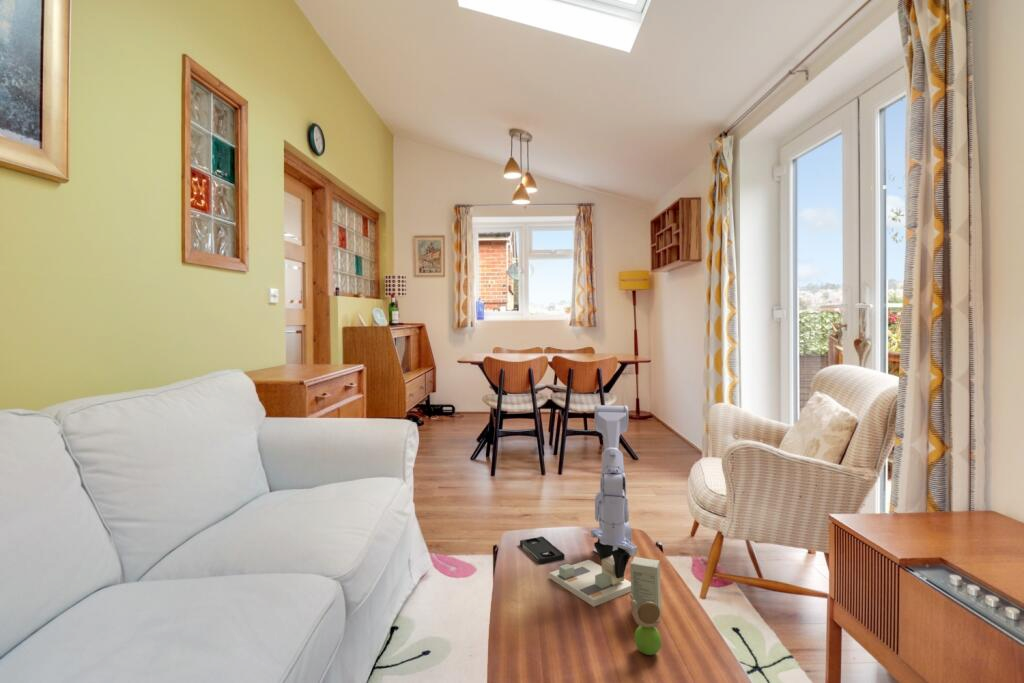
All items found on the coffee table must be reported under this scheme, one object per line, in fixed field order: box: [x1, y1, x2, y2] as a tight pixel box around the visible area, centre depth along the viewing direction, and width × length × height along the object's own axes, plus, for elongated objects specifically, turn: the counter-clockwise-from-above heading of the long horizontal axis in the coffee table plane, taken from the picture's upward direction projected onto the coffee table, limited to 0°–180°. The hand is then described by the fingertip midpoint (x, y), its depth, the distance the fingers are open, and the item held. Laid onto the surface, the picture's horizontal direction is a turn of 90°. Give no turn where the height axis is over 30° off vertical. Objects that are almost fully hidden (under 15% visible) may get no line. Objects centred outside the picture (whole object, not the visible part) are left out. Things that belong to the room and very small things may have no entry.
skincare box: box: [629, 556, 662, 620], centre depth 116 cm, size 6×4×12 cm
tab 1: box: [558, 563, 574, 579], centre depth 131 cm, size 3×2×2 cm
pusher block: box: [601, 556, 625, 585], centre depth 128 cm, size 4×4×5 cm
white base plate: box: [549, 559, 631, 608], centre depth 130 cm, size 14×17×2 cm
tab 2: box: [595, 572, 611, 588], centre depth 126 cm, size 3×2×2 cm
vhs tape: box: [519, 536, 565, 565], centre depth 149 cm, size 14×8×2 cm, turn 23°
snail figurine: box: [629, 593, 663, 656], centre depth 102 cm, size 5×6×12 cm
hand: (613, 573), depth 128 cm, fingers closed on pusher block, 4 cm apart
